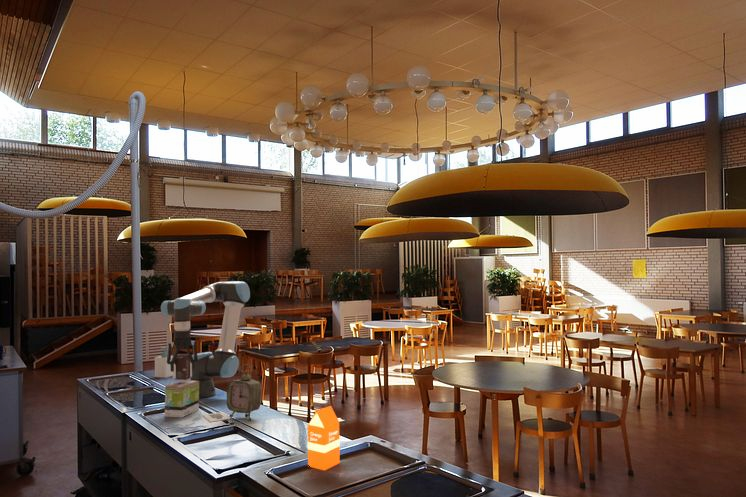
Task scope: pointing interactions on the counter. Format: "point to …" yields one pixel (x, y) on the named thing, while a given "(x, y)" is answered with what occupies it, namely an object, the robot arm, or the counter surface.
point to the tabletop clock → (244, 394)
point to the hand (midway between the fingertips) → (182, 377)
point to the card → (217, 417)
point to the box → (182, 367)
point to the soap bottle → (162, 365)
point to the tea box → (181, 398)
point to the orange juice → (323, 439)
